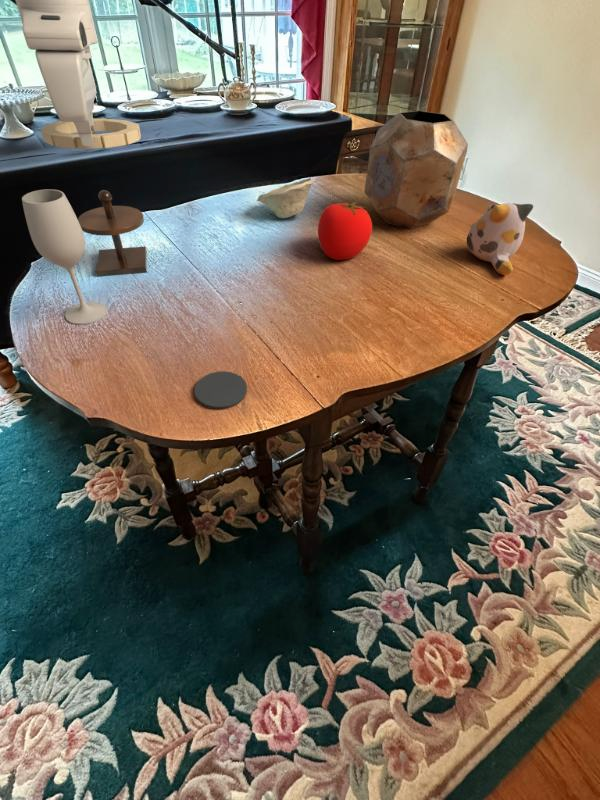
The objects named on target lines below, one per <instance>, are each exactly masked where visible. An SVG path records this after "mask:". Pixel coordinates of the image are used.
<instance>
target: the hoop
mask: <svg viewBox="0 0 600 800" xmlns="http://www.w3.org/2000/svg"><path fill="white" fill-rule="evenodd" d="M93 122H94V128H95V132H106V133H96V134H93V136H94V140H95V142H94V145H93V146H83V145H82V143H81V140H80V136H79V133H78V131H77V129H76V126H75V124H74V122H63V121H61V120H60V121H57V122H56V121H55V122H52V123H48V124H45V125H44V126H42V128H41V129H40V132H41V133H40V134H41V136H42V139H43V141H44V143H46V144H49V145H50V146H52V147H56V148H62V149H63V148H64V149H74V150H76V149H78V150H93V149H94V150H95V149H103V148H105V149H110V148H117V147H125V146H128V145H131V144H134V143H137V142H139V141H141V139H142V135H141V129H140V128H141V127H140V124H139V123H136V122H133V121H130V120H125V119H117V118H116V119H115V118H93ZM77 133H78V134H77Z"/></svg>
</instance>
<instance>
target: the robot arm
mask: <svg viewBox="0 0 600 800" xmlns="http://www.w3.org/2000/svg"><path fill="white" fill-rule="evenodd" d="M15 3H16V6H17V10H18V13H19V16H20V17H19V18H20V21H21V24H22V33H23V36H24V40H25V43H26V46H27V49H29V50H31V51H33V50H34V51H35V52H34V53H35V58H36V62H37V66H38V68H39V71H40V74H41V76H42V78H43V82H44V85H45V88H46V90H47V93H48V96H49V99H50V101H51V104H52V106H53V109H54V111H55V113H56V115H57V117H58V118H59V120H60V121H61V122H62V121H63V122H74V124H75V126H76V129H77V131H78V134H79V136H80V140H81V143H82V145H83V146H93V145H94V142H95V140H94V136H93V134H97V133H96V132H97V131H95V128H94V122H93V119H94V117H93V115H94V114H93V105H94V103H95V102H94V101H95V99H96V96H97V85H96V83H95V78H94V74H93V73H94V72H93V69H92V66H91V62H90V61H91V60H90V59H92V57H93V56H92V52H91V47H90V46H92V45H95V44H98V36H97V32H96V28H95V22H94V19H93V13H92V9H91V4H90V0H15Z"/></svg>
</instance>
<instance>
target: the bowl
mask: <svg viewBox="0 0 600 800" xmlns="http://www.w3.org/2000/svg"><path fill="white" fill-rule="evenodd" d="M314 183H315V181H314V179H312V178H310V177H309V178H305V179H302V180H299V181H296V182H293V183H290V184H285V185H283V186H280V187H279V188H275V189H272V190H270V191H268V192H266V193H262V194H260V195H258V197H257V199H256V201H257V202H259V203H261V204H263V205H264V206H266V207H268V208H269V209H270V210H271V211H272V213H274V215H275V216H276V217H277V218H278V219H287V218H291V217H294V216H295V215H298V214H300V213H302V212H303V210H304V208H305V207H304V206H305V204H306V201H307V199H308V196H309V192H310V190H311V187H312V185H313V184H314Z"/></svg>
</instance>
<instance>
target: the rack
mask: <svg viewBox="0 0 600 800" xmlns="http://www.w3.org/2000/svg"><path fill="white" fill-rule="evenodd" d="M98 200H99V201H100V203H102V206H99V207H96V208H92V209H89V210H87V211H85V212H83V213H82V214H80V215H79V217H77V220H78V222H79V224H80V226H81V229H82V231H83V233H86V234H89V235H93V236H100V237H101V236H105V237H107V236H111V239H112V243H113V246H114V248H104V249H99V250H98V254H97V260H96V266H95V274H96V277H97V278H98V277H107V276H109V277H110V276H120V275H132V274H143V273H148V268H147V267H148V254H147V253H148V250H147V247H146V246H132V247H123V242H122V239H121V235H122V234H127V233H131V232H132V231H135V230H137V229H139V228H140V227H142V226H143V224H144V221H145V218H144V215H143V212H142V211H141V210H140V209H139V208H138V209H137V208H135V207H133V206H127V205H113V203H112V200H113V196H112V193H111V192H109V191H108V190H106V189H102V190H100V191H99V192H98Z"/></svg>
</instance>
